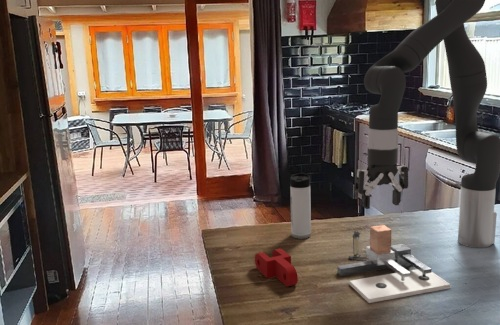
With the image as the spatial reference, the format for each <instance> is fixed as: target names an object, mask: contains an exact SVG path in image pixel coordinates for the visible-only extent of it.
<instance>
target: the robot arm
mask: <svg viewBox="0 0 500 325" xmlns="http://www.w3.org/2000/svg"><path fill="white" fill-rule="evenodd" d="M485 2H486V0H435V10H436V15H435V16H434V17H432V18H430V20H428V21H425V23H423V24H421V25H420V26H419V27H417V28H416V29H414V30H412V31H411V32H409V34H408V35H407V36H406V37H405V38H404V39H403V40H402V41H401V42H400V43H399V44H398V45H397V46H396V47H395V48H394V49H393V50H392V51H391V52H389V53H388V54H386V55H384V56H383V57H382V58H381V59H379V60H378V61H376V62H375V63H373V64H372V66H370V67H369V68H368V70H367V71H366V73H365V74H364V78H363V85H364V87H365V90H366V91H368V92H369V93H371V94H374V95H380V99H379V102H378V103H377V104H373V105H372V106H371V107H370V109H369V113H368V114H369V115H368V116H369V117H368V133H367V154H366V156H367V157H366V158H367V160H366V161H367V168H366V169H359V168H357V169H356V170H355V176H354V179H355V180H354V188H353V189H354V192H356V193H358V194H359V195H361V206H362V207H363V209H366V210H369V209H370V208H371V195H370V194H371V192H372V191H373V190H374V189H375V188H376V187H377V186H383V185H387V186H388V185H390V186H391V187H392V198H391V199H392V200H391V202H392V204H393V205H394V206H400V203H401V201H402V199H401V197H402V191H403V190H405V189H406V190H407V189H408V188H409V167H408V166H406V165H404V164H399V165H397V164H398V162H399V161H398V160H399V159H398V156H399V131H398V130H399V128H398V124H399V111H400V107H401V106H402V105H401V104H402V101H403V97H404V94H405V90H406V86H407V80H406V75H405V73H410V72H412V71H413V70H415V69H416V68H417V67H418V66H419V65H420V64H421V63H422V62H423V61H424V60H425V59H426V58H427V56H428V55H429V54H430V53H431V52H432V51H433V50H434V49H435V48H436V47H437V46H438V45H439V44H441V42H442V41H443V43H444V48H445V56H446V60H447V68H448V76H449V83H450V84H449V85H450V89H451V94H452V102H453V109H454V110H453V111H454V122H455V145H456V146H455V147H456V152H457V155H458V157H459V158H460V159H461V160H462V161H465V162H466V163H472V164H475V169H474V172H473V173H467V174H464V175H463V176H462V177H461V181H460V195H459V196H460V198H459V215H458V228H457V229H458V230H457V232H458V234H457V241H458V243H460V244H461V245H463V246H467V247H469V248H477V249H478V248H479V249H481V248H487V247H490V246H492V244H495V243H496V229H497V228H496V226H497V212H496V211H495V204H496V191H497V190H496V187H497V183H498V180H499V177H500V136H498V134H495V133H491V132H483V131H480V130H479V127H478V121H477V117H478V116H477V113H478V109H479V108H480V105H481V103H482V102H483V99H484V97H485V94H486V92H487V88H488V79H487V78H488V77H487V69H486V64H485V60H484V58H483V57H482V55H481V53H480V52H479V51H478V49H477V48H476V46H475V45H474V43H472V42H473V41H471V39H470V38H469V36H468V34H467V30H466V28H465V23H466V22H467V21H469V20H470V19H471V18H473V17H474V16H475V15H476V14H477V13H479V12H480V11H481V10H482V8H483V6H484V4H485ZM397 174H398V180H397V179H396V176H397ZM366 177H367V179H366V180H365V178H366Z"/></svg>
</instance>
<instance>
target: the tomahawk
mask: <svg viewBox="0 0 500 325" xmlns="http://www.w3.org/2000/svg"><path fill="white" fill-rule="evenodd" d="M360 234H361V233H360V232H359V231H357V230H355V231H353V256H352V255H349V256H348V261H356V262H358V261H359V262H365V261H367V260H366V259H367V257H364V259H363V258H362V257H361V255H360V254H359V253H360V252H359V247H360V246H359V245H360V243H359V242H360V241H359V238H360Z"/></svg>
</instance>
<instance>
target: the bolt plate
mask: <svg viewBox="0 0 500 325" xmlns="http://www.w3.org/2000/svg"><path fill="white" fill-rule="evenodd" d="M408 271H409V272H410V276H409V277H405V280H404V281H402V280H401V276H400V275H399V274H397V273H396V272H394V273H386V274H381V275H374V276H370V277H364V278H359V279H353V280H349V286H350V287H352V288H353V289H354V290H355V291H356V292H357V293H358V294H359V295H360V296H361V297H362V298H363V299H364V300H365V301H366V302H367V303H369V304H371V303H377V302H382V301H388V300H394V299H399V298H405V297H409V296H410V297H411V296H415V295H420V294H425V293H426V294H427V293H431V292H437V291H441V290H442V291H443V290H448V289H451V283H449V282H448V281H446V280H445V279H444V278H442V277H440V276H439V275H437V274H436V273H435V272H433V271H431V273H427V274H426V277H423V276H422V272H421V271H419V270H418V269H417V268H415V269H410V270H408Z"/></svg>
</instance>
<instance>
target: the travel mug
mask: <svg viewBox="0 0 500 325" xmlns="http://www.w3.org/2000/svg"><path fill="white" fill-rule="evenodd" d="M289 178H290V185H289V186H290V187H289V189H290V194H289V195H290V224H291V225H290V228H291V229H290V230H291V232H290V234H291V235H290V236H291V237H292V238H294V239H297V238H298V240H303V239H304V240H305V239H308V237H309V238H310V237H311V236H312V222H311V221H312V220H311V219H312V217H311V216H312V215H311V214H312V213H311V202H312V201H311V176H310V175H309V174H307V173H305V172H299V173H295V174H293V175H291V176H290V177H289Z"/></svg>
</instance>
